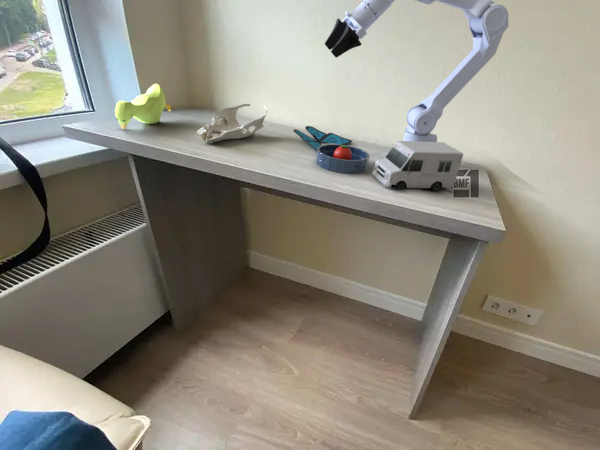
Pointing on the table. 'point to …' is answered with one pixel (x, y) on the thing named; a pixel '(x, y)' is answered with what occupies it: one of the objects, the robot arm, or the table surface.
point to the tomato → (343, 153)
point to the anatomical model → (229, 126)
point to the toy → (142, 107)
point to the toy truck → (419, 165)
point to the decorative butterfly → (321, 137)
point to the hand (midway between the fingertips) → (330, 50)
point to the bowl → (339, 165)
